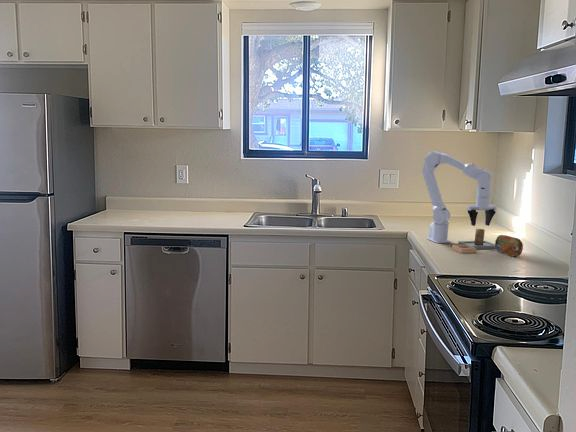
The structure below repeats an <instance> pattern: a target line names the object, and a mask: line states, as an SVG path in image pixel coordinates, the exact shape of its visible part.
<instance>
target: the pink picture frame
mask: <svg viewBox="0 0 576 432" xmlns="http://www.w3.org/2000/svg"><path fill="white" fill-rule="evenodd" d="M451 250H452V251H455V252H458V253H459V254H470V253H471V254H472V253H473V254H475V253H476V252H477V249H476V248H474V247H471V246H469V245H458V244H452V245H451Z"/></svg>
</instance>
